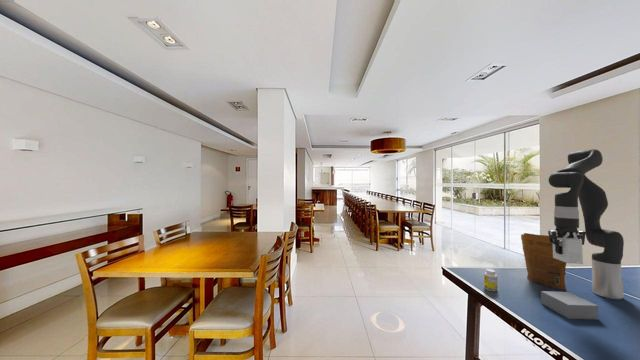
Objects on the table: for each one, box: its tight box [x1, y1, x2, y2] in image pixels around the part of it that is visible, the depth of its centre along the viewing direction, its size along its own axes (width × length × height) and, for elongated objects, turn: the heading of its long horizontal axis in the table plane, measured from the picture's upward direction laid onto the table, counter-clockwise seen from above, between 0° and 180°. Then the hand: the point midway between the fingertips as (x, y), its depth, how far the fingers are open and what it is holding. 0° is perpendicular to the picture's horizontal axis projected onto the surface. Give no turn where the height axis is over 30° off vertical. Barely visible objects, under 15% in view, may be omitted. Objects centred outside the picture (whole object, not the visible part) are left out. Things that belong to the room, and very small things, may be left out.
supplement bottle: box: [483, 268, 498, 292], centre depth 119 cm, size 6×6×10 cm
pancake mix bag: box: [520, 232, 567, 291], centre depth 126 cm, size 7×19×28 cm, turn 27°
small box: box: [553, 237, 584, 265], centre depth 100 cm, size 8×6×10 cm
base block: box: [540, 290, 599, 320], centre depth 99 cm, size 12×12×6 cm
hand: (566, 253), depth 100 cm, fingers closed on small box, 6 cm apart
